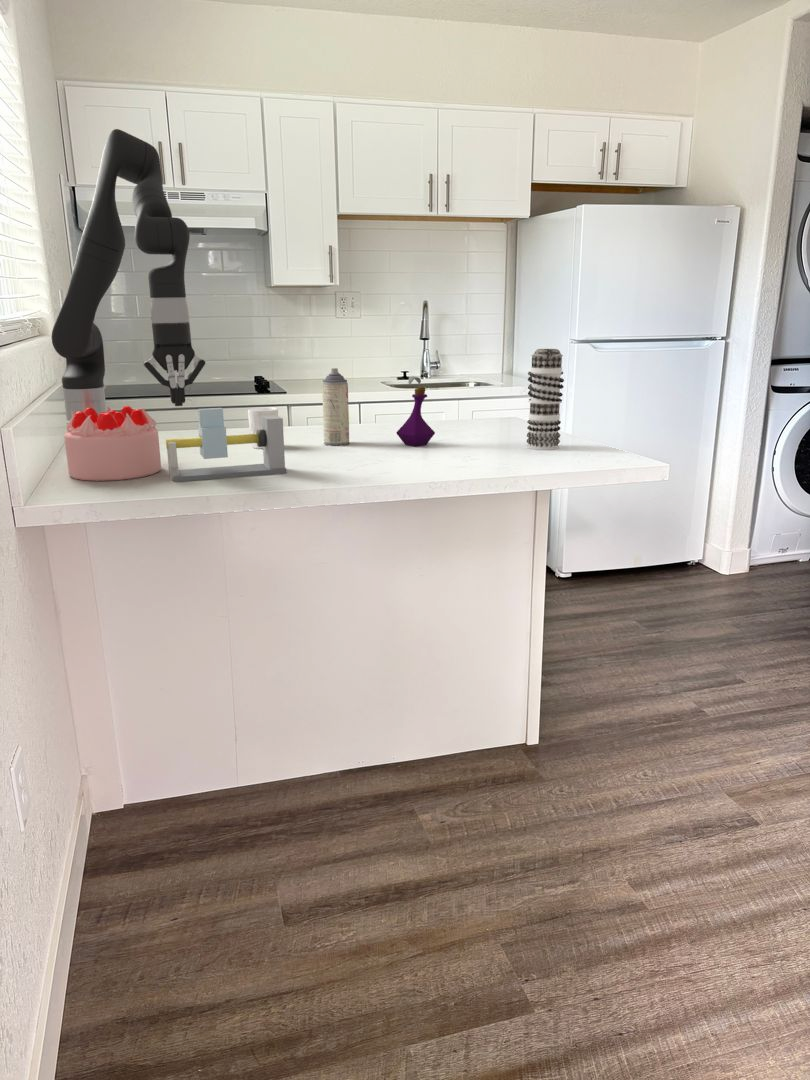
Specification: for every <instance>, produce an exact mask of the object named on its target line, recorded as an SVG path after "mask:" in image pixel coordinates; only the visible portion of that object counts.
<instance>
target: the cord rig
mask: <svg viewBox="0 0 810 1080" xmlns="http://www.w3.org/2000/svg"><path fill="white" fill-rule="evenodd" d="M283 419H284V418H283V417H281V416H280V415H278V416H277V415H272V416H261V420H262V430H257V431H256V434H250V433H249V434H235V435H233V434H232V435H226V438H227V446H229V445H231V446H232V445H246V444H252V443H257V445H258V447H263V449H262V451H263V463H255V464H254V463H253V464H242V465H228V466H227V465H226V466H215V467H214V466H213V467H200V468H199V467H198V468H187V469H179V463H178V450H177V449H183V448H184V449H186V448H200V447H202V437H199V436H198V437H185V438H184V437H183V438H168V439H165V447H166V450H167V451H166V452H167V462H168V473H169V478H170V479H171V481H173V482H175V483H178V482H179V483H180V482H192V481H202V480H203V481H204V480H216V479H217V480H218V479H226V478H227V479H228V478H239V477H240V478H242V477H254V476H265V475H266V476H267V475H278V474H287V468H286V461H285V459H286V458H285V457H286V456H285V438H284V436H285V435H284V420H283Z"/></svg>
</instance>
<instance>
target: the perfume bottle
mask: <svg viewBox="0 0 810 1080" xmlns="http://www.w3.org/2000/svg"><path fill="white" fill-rule="evenodd" d="M414 380H415V381H416V382H417V383H418V386H419V387H417V388H415V389H414V394H412V396H411V397H412V398H413V399H414V404H413V408H412V411H411V413H410V415H409V417H408V418H407V420H406V421H405V422H404V423H403V424H402V425H401V427H400V428H399V429H397V431H396V435H397V436H398V437H399V439H400V440H401V441H402V443H403V444H404V445H405V446H409V447H410V446H411V447H415V448H416V447H421V446H426V445H428V444H429V442H430V440H431V439H432V438H433V436H435V434H436V432H435V431H434V429H432V427H430V425H428V423H427V422H426V421H425V420H424V418H423V416H422V411H421V410H422V404H423V402H424V400H425V399H426V398H428V394H426V393H425V392H426V387H425V386H423V387H422V386H421V382H422V381H421V378H420V377H417V376H410V377H408V382H407V383H408V385H409V386H411V385H412V383H413V381H414Z"/></svg>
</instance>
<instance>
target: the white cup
mask: <svg viewBox="0 0 810 1080" xmlns="http://www.w3.org/2000/svg"><path fill="white" fill-rule="evenodd" d="M272 415H277V416H279V408H278V407H269V406H267V407H264V406H263V407H262V406H261V407H252V408H248V409H247V416H248V417H247V418H248V427H249V434H256V431H257V430H262V420H261V416H272ZM251 447H252V448H253V449H258V450H259V449H260V450H263V447H258V445H257V443H251Z"/></svg>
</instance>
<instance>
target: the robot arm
mask: <svg viewBox="0 0 810 1080" xmlns="http://www.w3.org/2000/svg"><path fill="white" fill-rule="evenodd" d="M101 154H102V156H101V159H100V163H99V164H100V165H99V169H98V175H97V178H96V184H95V189H94V194H93V198H92V203H91V205H90V208H89V212H88V216H87V218H86V220H85V221H86V222H85V225H84V228H83V231H82V235H81V237H80V241H79V245H78V249H77V253H76V256H75V261H74V265H73V268H72V272H71V276H70V278H69V283H68V288H67V292H66V295H65V298H64V300H63V303H62V305H61V308H60V309H59V312H58V316H57V317H56V320H55V323H54V324H53V327H52V331H51V343H52V346H53V348H54V350H55V352H56V353H57V354H58V355H59V356H60V357H62V358H64V359H65V362H66V363H65V364H66V365H65V366H66V367H65V370H64V372H63V375H62V376H61V384H62V391H63V399H64V400H63V401H64V408H65V413H66V414H65V415H66V425H67V424H68V422H69V421H70V420H71V418H72V414H71V410H72V412H73V413H75V414H76V413H77V412H79V411H82V412H84V411H85V410H86V409H87V408H93V409H95V410H96V412H97V413H98V415H100V413H102V412H106V413H107V402H106V393H105V385H104V384H105V383H104V379H105V378H104V377H105V375H106V365H105V349H104V341H103V336H102V333H101V330H100V329H99V327H98V325H97V324H96V323H94V321H95V317H96V314H97V311H98V307H99V305H100V303H101V300H102V299H103V298H104V296H105V294H106V292H107V291H108V289H109V288H110V287H111V285H112V283H113V282H114V280H115V278H116V276H117V274H118V271H119V268H120V266H121V263H122V259H123V255H124V252H125V249H126V248H125V247H126V239H125V234H124V233H125V232H124V228H123V225H122V222H121V219H120V216H119V212H118V208H117V203H116V202H117V201H116V184H117V179H118V178H120V179H123V180H125V181H127V182H130V183H132V184H133V185H135V187H134V189H132V193H131V204H132V207H133V211H134V213H135V216H136V221H135V224H134V225H135V226H134V241H135V244H136V247H137V248H138V249H139V250H140V251H141V252H143V253H144V254H147V255H164V256H165V255H167V256H168V255H171V260H170V262H169V263H167V264H166V265H165V264H164V265H162V266H156V267H152V268H151V269H149V271H148V273H147V274H148V275H147V279H148V286H149V298H150V322H151V328H152V329H151V330H152V337H153V351H152V352H151V353H152V356H151V357H150V358H149V359H148V360H144V362H143V364H142V365H143V366H144V368H145V369H147V371H148V372H149V373H150V374H151V375H152V376H153V377H154V379H156V380H157V381H158V383H159V384H161V385H162V386H164V387H168V389H169V393H170V394H169V396H170V402H171V404H174V406H175V407H182V406H183V404H185V402H186V393H185V387H187V386H190V385H192V384H194V381H195V380H196V379H197V378H198V376H199V374H200V373H201V371H202V370H203V369H204V367H205V365H206V360H204V359H202V358H200V357H199V356H197V355H196V353H195V350H194V349H193V346H192V336H191V334H192V333H191V325H190V315H189V306H188V302H187V298H186V297H187V295H186V294H187V293H186V284H185V283H186V282H185V269H186V268H185V267H186V262H187V261H186V259H187V255H188V250H189V245H190V229H189V227H188V225H187V223H186V222H185V221H184V220H183V219H182V218H179V217H173V216H172V214H173V213H172V210H171V207H170V205H169V202H168V200H167V198H166V194H165V192H164V186H163V174H162V166H161V159H160V155H159V153H158V150H157V149H156V148H155V146H153V145H152V144H150V143H149V142H147V141H145V140H142V139H140V138H138V137H136V136H135V135H132V134H131V133H128V132H127V131H124V130H122V129H119V128H115V129H113V130H112V131H111V132H110V133H109V134H108V136H107V137H106V141H105V144H104V147H103V151H102V153H101ZM156 362H157V363H158V365H159V366H161V368H162V370H164V371H166V372H165V373H166V376H167V379H165V377H163V375H161V373H160V372H159V371H158V370H157V369H156V368H157V366H158V365H157V363H156ZM191 363H192V366H193V368H192V369H191V370H190V372H189V373H188V375H187V376H186V378H185V373H186V372H185V371H186V370H187V369H188V368H189V366H190V364H191ZM175 371H176V374H175Z"/></svg>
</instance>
